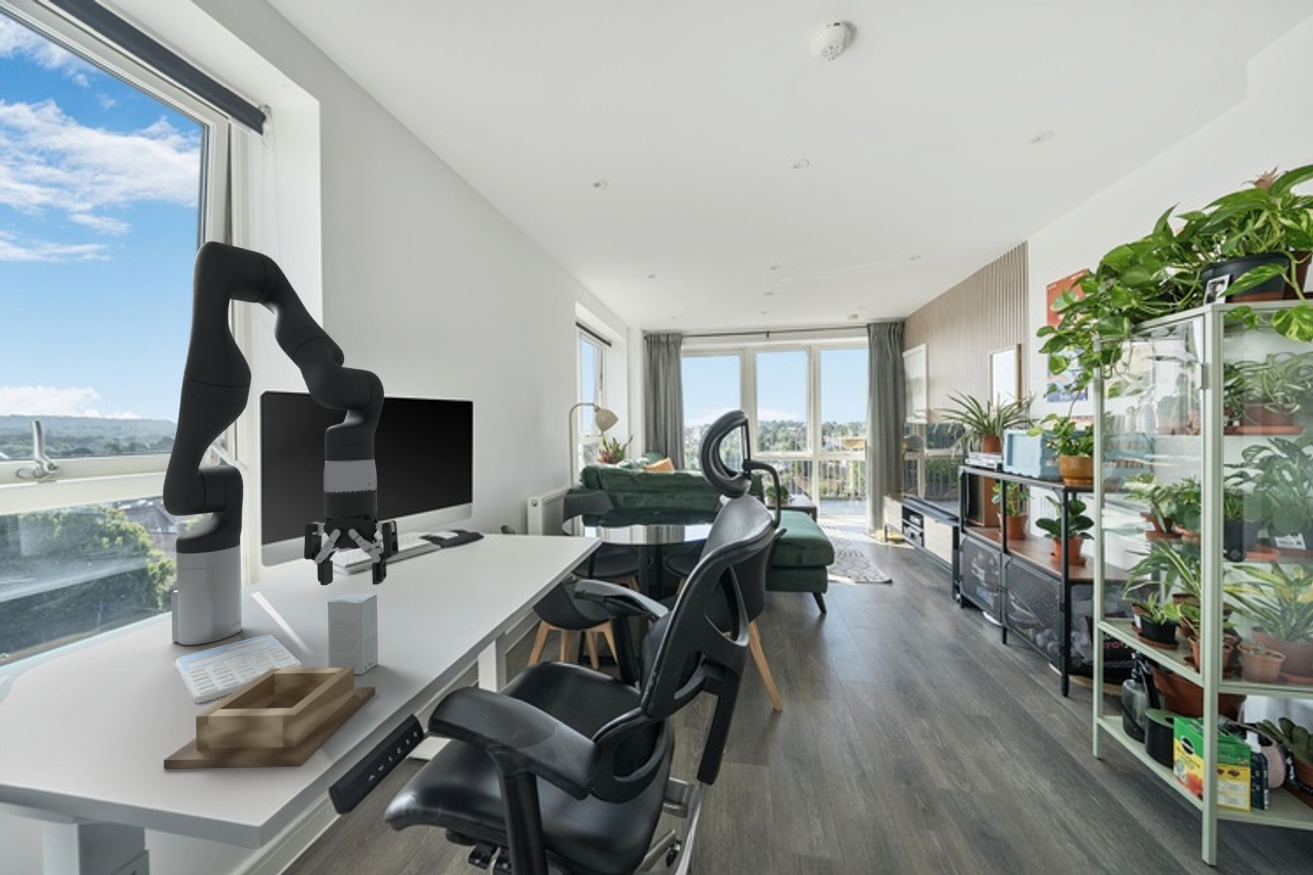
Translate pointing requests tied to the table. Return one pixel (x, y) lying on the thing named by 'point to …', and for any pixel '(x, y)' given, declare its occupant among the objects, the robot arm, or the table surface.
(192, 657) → the calculator
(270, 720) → the wooden box stand
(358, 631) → the skincare box
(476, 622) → the table surface
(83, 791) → the table surface
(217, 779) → the table surface
